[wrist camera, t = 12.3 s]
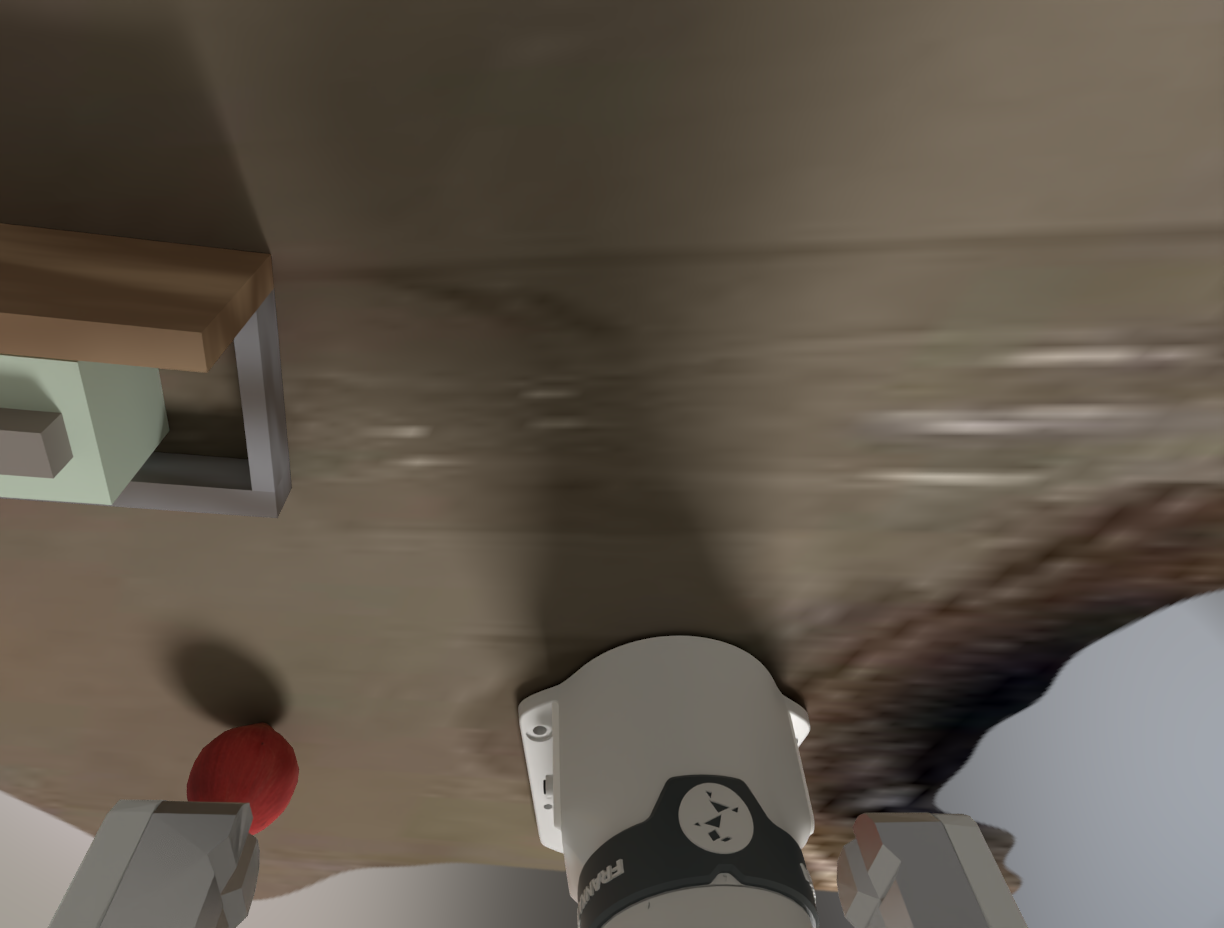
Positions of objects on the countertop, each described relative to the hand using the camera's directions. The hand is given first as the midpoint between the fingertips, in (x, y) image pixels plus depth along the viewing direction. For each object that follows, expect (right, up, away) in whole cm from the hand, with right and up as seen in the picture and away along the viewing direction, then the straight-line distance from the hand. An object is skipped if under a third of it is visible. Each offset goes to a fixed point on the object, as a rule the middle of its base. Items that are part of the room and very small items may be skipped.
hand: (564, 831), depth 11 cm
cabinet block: (-22, +10, +25) cm, 35 cm away
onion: (-21, -11, +39) cm, 45 cm away
